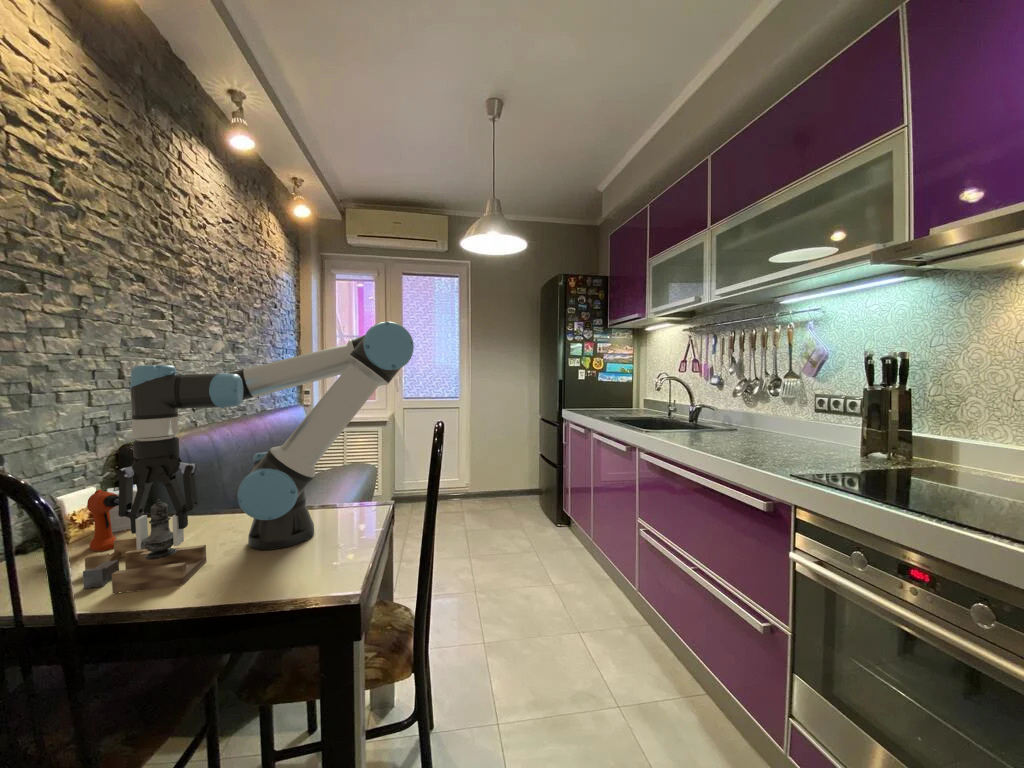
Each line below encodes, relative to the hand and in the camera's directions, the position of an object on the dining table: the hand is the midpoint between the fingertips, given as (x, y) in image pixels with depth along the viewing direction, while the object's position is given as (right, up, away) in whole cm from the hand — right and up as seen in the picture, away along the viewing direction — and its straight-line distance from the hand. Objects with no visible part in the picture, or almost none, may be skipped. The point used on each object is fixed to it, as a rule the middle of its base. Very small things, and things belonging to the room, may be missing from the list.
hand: (160, 545), depth 90 cm
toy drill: (-25, -7, +16) cm, 30 cm away
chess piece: (0, -2, 0) cm, 2 cm away
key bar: (-11, -7, -1) cm, 13 cm away
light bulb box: (-38, -7, +33) cm, 51 cm away
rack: (0, -7, 0) cm, 7 cm away
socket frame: (-14, -7, +8) cm, 18 cm away
